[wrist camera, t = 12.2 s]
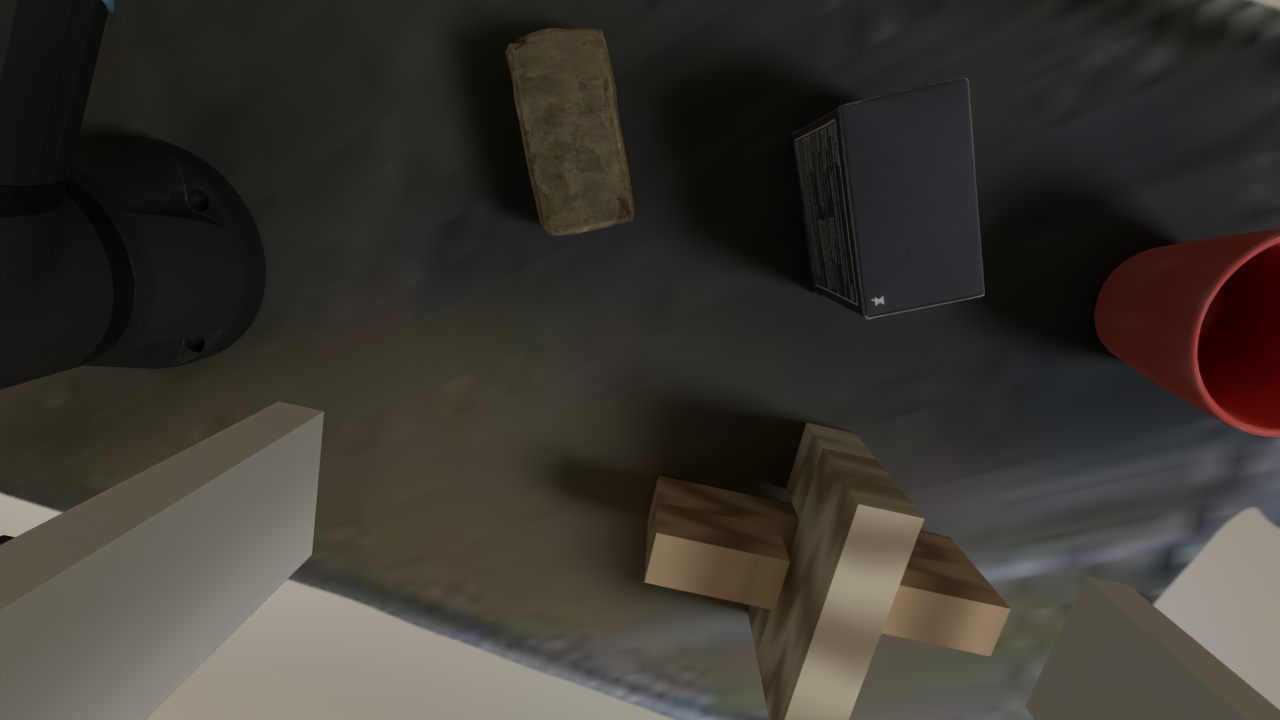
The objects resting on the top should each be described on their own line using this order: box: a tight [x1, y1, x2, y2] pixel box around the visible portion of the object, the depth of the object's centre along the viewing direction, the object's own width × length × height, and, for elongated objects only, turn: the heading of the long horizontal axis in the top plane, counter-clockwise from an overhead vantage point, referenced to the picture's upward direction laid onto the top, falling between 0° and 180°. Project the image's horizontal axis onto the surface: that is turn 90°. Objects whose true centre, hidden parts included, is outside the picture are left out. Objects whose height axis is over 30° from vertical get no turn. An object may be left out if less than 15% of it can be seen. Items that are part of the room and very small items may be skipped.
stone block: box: [505, 28, 635, 236], centre depth 37 cm, size 6×12×5 cm, turn 11°
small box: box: [792, 78, 985, 320], centre depth 34 cm, size 11×6×10 cm, turn 12°
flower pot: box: [1094, 229, 1280, 437], centre depth 35 cm, size 11×11×10 cm
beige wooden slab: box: [748, 423, 924, 720], centre depth 39 cm, size 16×4×12 cm, turn 168°
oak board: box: [644, 475, 1011, 656], centre depth 41 cm, size 22×4×8 cm, turn 78°
